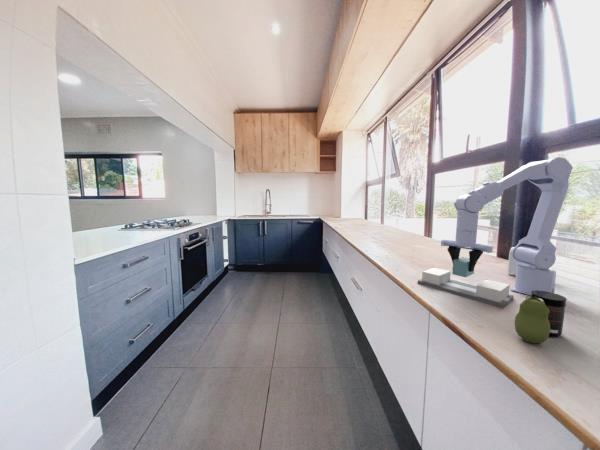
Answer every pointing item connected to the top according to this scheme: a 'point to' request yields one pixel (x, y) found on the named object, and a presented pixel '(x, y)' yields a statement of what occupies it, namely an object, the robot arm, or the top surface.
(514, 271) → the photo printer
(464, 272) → the module block
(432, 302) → the top surface
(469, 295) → the rail plate
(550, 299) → the supplement container
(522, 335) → the pear
